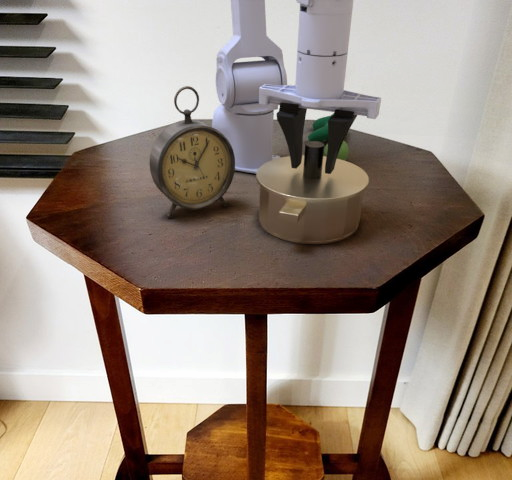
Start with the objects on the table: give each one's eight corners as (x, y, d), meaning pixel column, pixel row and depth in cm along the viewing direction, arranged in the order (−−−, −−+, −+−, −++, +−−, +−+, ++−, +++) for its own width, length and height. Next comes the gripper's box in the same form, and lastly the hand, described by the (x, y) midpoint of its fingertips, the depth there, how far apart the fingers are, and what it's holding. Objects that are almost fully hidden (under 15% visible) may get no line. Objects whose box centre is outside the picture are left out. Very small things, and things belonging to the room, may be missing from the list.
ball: (320, 165, 90) (322, 141, 88) (327, 157, 93) (329, 134, 91) (344, 169, 89) (347, 145, 87) (349, 161, 92) (352, 137, 90)
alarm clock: (164, 224, 73) (151, 96, 63) (151, 208, 77) (136, 85, 66) (237, 209, 77) (236, 86, 67) (221, 194, 81) (218, 76, 70)
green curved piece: (318, 155, 99) (345, 133, 96) (305, 138, 98) (331, 116, 94) (323, 138, 106) (348, 118, 103) (311, 123, 105) (336, 102, 101)
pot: (236, 241, 70) (235, 198, 66) (284, 186, 83) (286, 148, 80) (339, 262, 66) (344, 218, 62) (371, 201, 80) (377, 161, 76)
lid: (238, 195, 68) (238, 155, 65) (277, 156, 79) (279, 120, 75) (353, 215, 64) (358, 174, 61) (377, 172, 75) (383, 134, 71)
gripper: (250, 52, 61) (249, 170, 69) (379, 64, 57) (361, 189, 65) (271, 40, 66) (268, 152, 74) (391, 51, 62) (373, 168, 70)
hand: (312, 168), depth 70 cm, fingers open, 4 cm apart
